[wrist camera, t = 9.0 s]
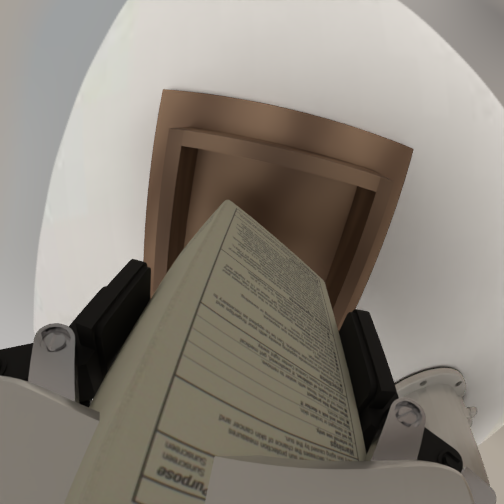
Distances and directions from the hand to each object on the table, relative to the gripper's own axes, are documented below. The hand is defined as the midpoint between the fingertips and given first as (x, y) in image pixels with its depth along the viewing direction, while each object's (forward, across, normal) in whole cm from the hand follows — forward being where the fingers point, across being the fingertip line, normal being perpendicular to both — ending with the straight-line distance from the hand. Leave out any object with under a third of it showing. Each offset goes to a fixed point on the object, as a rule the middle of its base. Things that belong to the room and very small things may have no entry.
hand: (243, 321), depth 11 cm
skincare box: (+4, 0, 0) cm, 4 cm away
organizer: (+10, 0, 0) cm, 10 cm away
